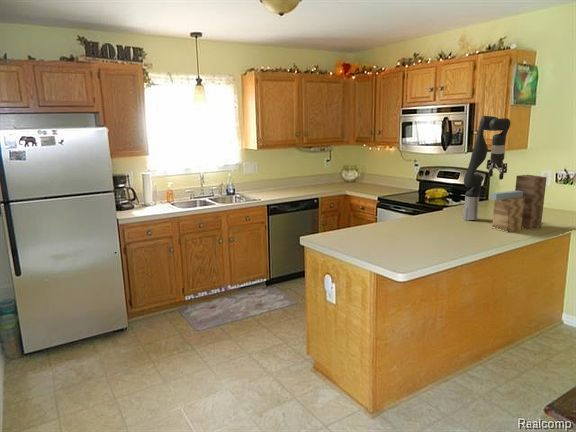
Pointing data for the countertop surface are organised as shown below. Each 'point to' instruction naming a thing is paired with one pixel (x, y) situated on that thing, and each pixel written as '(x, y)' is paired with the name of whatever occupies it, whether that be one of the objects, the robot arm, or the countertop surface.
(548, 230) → the countertop surface
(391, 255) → the countertop surface
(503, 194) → the bar
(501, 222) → the block
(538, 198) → the post
